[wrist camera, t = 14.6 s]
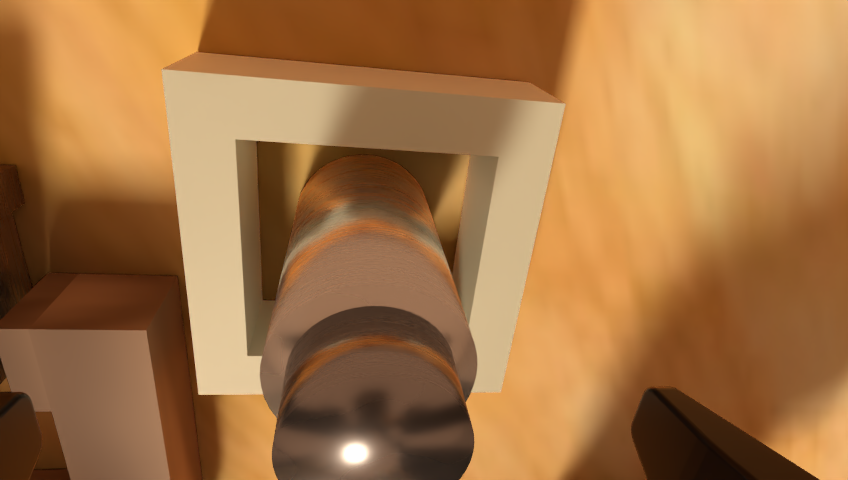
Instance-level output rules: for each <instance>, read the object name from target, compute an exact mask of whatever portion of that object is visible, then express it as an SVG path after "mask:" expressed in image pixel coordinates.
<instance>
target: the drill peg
mask: <svg viewBox="0 0 848 480" xmlns="http://www.w3.org/2000/svg"><path fill="white" fill-rule="evenodd" d="M477 366H478V364H477V352H476V347H475V343H474V340H473V337H472V334H471V331H470V328H469V325H468V322H467V319H466V316H465V313H464V310H463V307H462V304H461V301H460V299H459V296H458V293H457V290H456V287H455V284H454V281H453V278H452V275H451V272H450V269H449V266H448V263H447V260H446V257H445V254H444V251H443V248H442V245H441V242H440V239H439V236H438V233H437V230H436V227H435V224H434V221H433V218H432V215H431V212H430V209H429V206H428V203H427V200H426V197H425V195H424V192H423V190H422V188H421V186H420V185H419V183H418V182H417V180H416V179H415V178H414V177H413V176H412V175H411V174H410V173H409V172H408V171H407V170H406V169H405V168H403V167H402V166H401V165H399V164H397V163H395V162H393V161H391V160H389V159H386V158H383V157H379V156H374V155H351V156H346V157H342V158H339V159H337V160H334V161H332V162H330V163H328V164H326V165H325V166H323V167H322V168H320V169H319V170H318V171H317V172H316V173H315V174H314V175H313V176H312V177H311V178H310V179H309V180H308V182H307V183H306V185H305V186H304V188H303V190H302V192H301V195H300V197H299V201H298V205H297V209H296V214H295V218H294V222H293V226H292V231H291V235H290V239H289V243H288V248H287V252H286V256H285V261H284V265H283V269H282V273H281V278H280V282H279V286H278V290H277V295H276V299H275V303H274V307H273V312H272V316H271V320H270V325H269V329H268V333H267V337H266V342H265V346H264V350H263V355H262V359H261V364H260V382H261V388H262V392H263V395H264V398H265V400H266V402H267V404H268V406H269V408H270V409H271V411H272V412H273V414H274V415H275V416H276V418H277V424H276V430H275V436H274V442H273V448H272V462H273V468H274V471H275V474H276V476H277V478H278V480H459V479H460V478H461V477H462V475H463V474H464V472H465V471H466V469H467V467H468V465H469V463H470V461H471V457H472V454H473V449H474V433H473V429H472V425H471V421H470V417H469V414H468V410H467V406H466V400H467V399H468V397H469V395H470V393H471V391H472V388H473V386H474V382H475V379H476V374H477Z"/></svg>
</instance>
